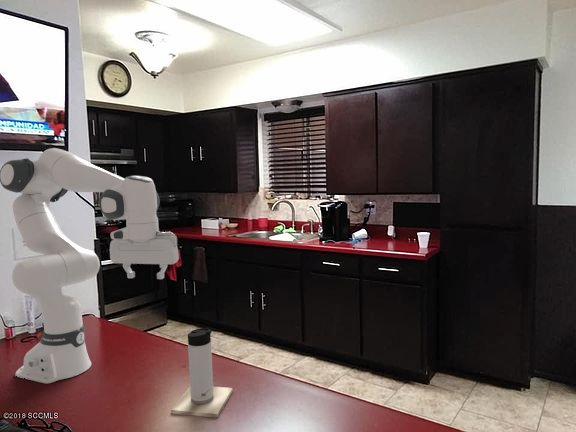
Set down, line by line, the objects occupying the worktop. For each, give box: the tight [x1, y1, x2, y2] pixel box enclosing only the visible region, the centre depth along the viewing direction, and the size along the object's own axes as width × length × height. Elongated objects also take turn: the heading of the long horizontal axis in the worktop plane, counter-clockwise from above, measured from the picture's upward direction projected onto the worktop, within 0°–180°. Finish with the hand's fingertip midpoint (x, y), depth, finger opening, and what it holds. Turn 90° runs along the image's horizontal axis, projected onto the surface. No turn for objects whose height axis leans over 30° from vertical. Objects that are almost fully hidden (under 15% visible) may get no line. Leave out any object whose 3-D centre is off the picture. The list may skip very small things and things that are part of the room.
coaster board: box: [170, 385, 234, 418], centre depth 117 cm, size 13×13×1 cm
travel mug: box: [187, 327, 214, 405], centre depth 116 cm, size 6×7×20 cm
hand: (145, 278), depth 124 cm, fingers open, 8 cm apart
